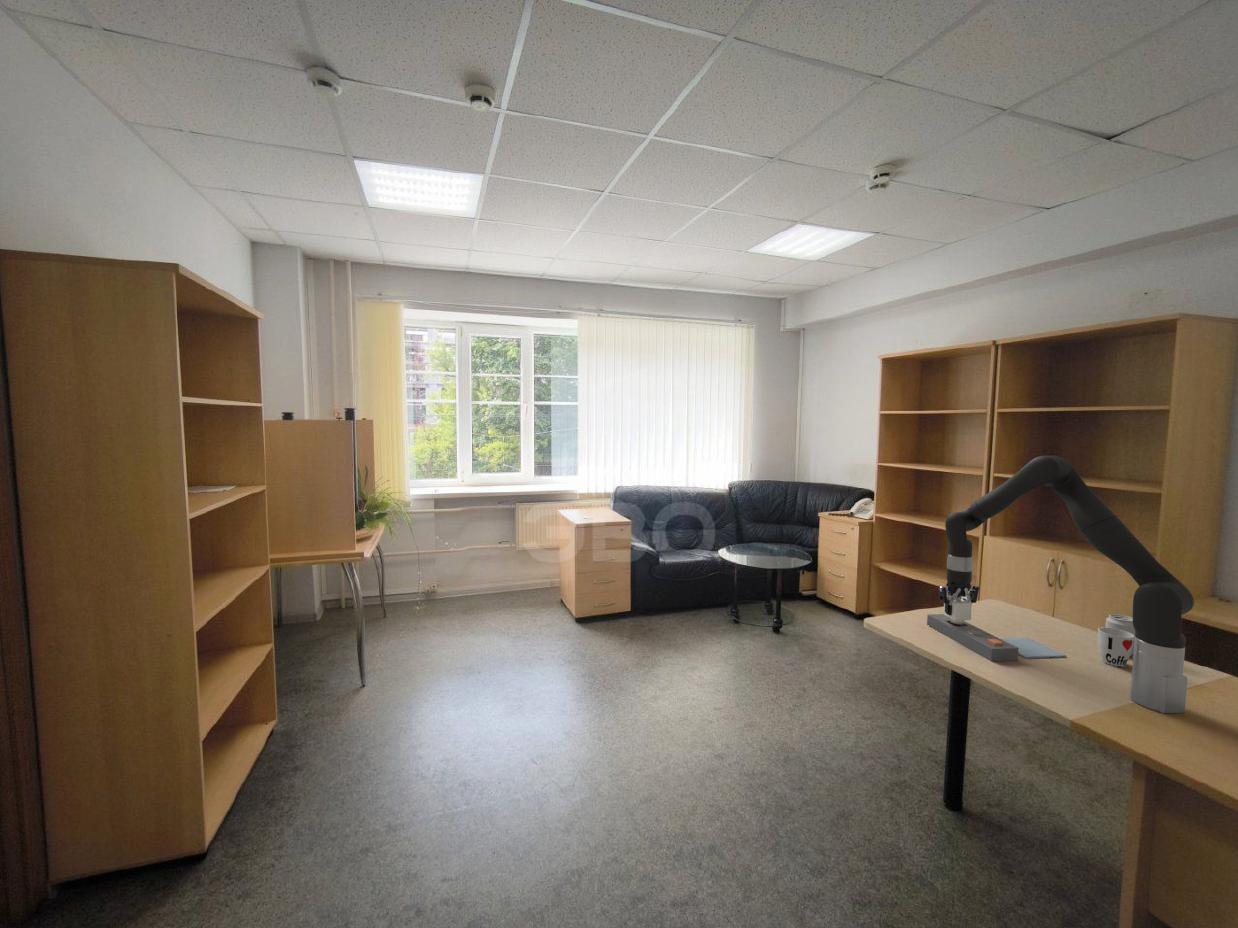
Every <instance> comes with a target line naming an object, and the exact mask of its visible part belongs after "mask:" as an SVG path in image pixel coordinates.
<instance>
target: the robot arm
mask: <svg viewBox="0 0 1238 928" xmlns="http://www.w3.org/2000/svg"><path fill="white" fill-rule="evenodd" d="M1043 486H1044V487H1045V486H1048V487H1050V488H1051V490H1053V491H1054V492H1055V493H1056V494H1057V495H1058V496H1059V497H1060V498H1061V499H1062V501H1063V502H1064V503H1065V505H1066V508H1067V509H1068V511H1069V513H1070V515H1071V519H1072V521H1073V522H1074V525H1075V527H1076V528H1077V530H1078V531H1079V532H1080V533H1081V534H1082V535H1083V537H1084V538H1085V539H1086V540H1087V542H1089V544H1090V545H1091V546H1092V547H1093V548H1094V549H1096V550H1097V551H1098V552H1099V553H1100V554H1102V555H1103V556H1105V557H1106V558H1108V559H1109V560H1110V561H1112V562H1113V563H1115V564H1116V565H1118V566H1119V567H1121V568H1122V569H1123V570H1125V571H1126V572H1127V574H1129V576H1130V577H1131V578H1132V579H1133V580H1134V581H1135V583H1136V584H1137V585H1138V587H1137V588H1136V590H1135V591H1134V594H1133V598H1132V599H1133V600H1132V618H1133V627H1134V629H1135V642H1134V654H1133V655H1132V656H1133V657H1132V671H1131V682H1130V683H1131V685H1130V699H1131V701H1133V702H1134V703H1136V704H1139V706H1142V707H1144V708H1147V709H1150V710H1153V711H1157V712H1160V713H1162V714H1179V713H1181V714H1182V713H1183V714H1184V713H1185V712H1186V702H1187V701H1186V700H1187V691H1188V689H1187V688H1188V677H1187V676H1186V675H1184V666H1185V657H1186V656H1185V655H1186V654H1185V652H1186V644H1187V639H1186V638H1187V637H1186V636H1185V635H1184V634H1183V633H1182V615H1184V614H1188V613H1189V612H1190V611H1191V610H1193V607H1194V605H1195V599H1194V597H1193V594H1192V593H1191V591H1190V590H1189V589H1188V588H1187V586H1185V585H1184V584H1183V583H1182V582H1181V581H1180V580H1179V579H1178V578H1177V577H1175V576H1174V575H1173V574H1172V573H1171V572H1170V571H1169V570H1167V568H1166V567H1164V566H1163V565H1162V564H1161V563H1160V562H1159V561H1158V560H1157V559H1156V558H1155V557H1154V556H1153V555H1152V554H1151V553H1150V552H1149V551H1148V549H1147V548H1146V547H1145V546H1144V545H1143V543H1141V541H1140V540H1139V539H1138V538H1137V537H1136V536H1135V535H1134V534H1133V532H1132V531H1131V530H1130V529H1129V528H1128V527H1127V525H1126V524H1125V523H1123V521H1121V519H1120V518H1119V517H1118V516H1117V514H1115V513H1114V512H1113V511H1112V510H1111V509H1109V507H1108V506H1107V505H1106V504H1105V502H1104V501H1102V500H1101V499H1100V497H1098V496H1097V494H1095V493H1094V492H1093V491H1092V490H1091V489H1090V488H1089V486H1088V485H1087V484H1086V483H1085V481H1084V480H1083V478H1082V477H1081V476H1080V475H1079V473H1078V471H1077V470H1076V469H1075V467H1073V465H1072V464H1071V463H1070V462H1069V461H1068V460H1067V459H1066V458H1063V457H1062V456H1057V455H1040V456H1036V457H1034V458H1033V459H1030V461H1029V462H1027V464H1025V465H1024V466H1023V467H1021V469H1019V470H1018V471H1017V472H1016V473H1015V474H1013V476H1011V477H1010V478H1008V479H1007V480H1006V481H1005V482H1003V483H1001V484H1000V485H999V486H997V487H996V488H994V489H992V490H991V491H990V492H988V493H985V494H984V495H982V496H981V497H979V498H977V499H976V500H974V501H973V502H972V503H970V506H969V507H968V508H966V509H965V510H963V511H959V512H952V513H949V515H947V516H946V519H945V523H944V525H945V526H944V527H945V532H946V536H947V537H946V538H947V540H948V551H947V553H948V554H947V558H946V573H945V574H946V575H945V576H946V577H945V579H946V581H947V582H946V584H945V585H940V584H939V585H938V586H937V589H938V597H939V599H938V600H939V602H941V603H943V604H944V603H945V612H946V614H948V615H952V603H953V601H954V600H956V598H957V597H959V596H961V599H963V600H965V601H967V602H970V603H972V604H973V603H974V604H976V603H977V601H978V596H979V591H980V587H979V586H978V585H974V584H971V583H972V579H973V542H972V540H970V539H968V536H967V532H970V531H973V530H975V529H977V528H979V527H980V526H982V525H983V524H985V522H986V521H988V520H989V519H992V518H993V517H995V516H996V515H999V514H1000V513H1002V512H1003V511H1005V510H1006V509H1008V508H1009V507H1011V505H1012V504H1014V502H1015V501H1017V500H1018V499H1019V498H1021V497H1022V496H1024V495H1025V494H1027V493H1029V492H1032V491H1033V490H1036V489H1038V488H1041V487H1043Z"/></svg>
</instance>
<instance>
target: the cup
mask: <svg viewBox="0 0 1238 928" xmlns="http://www.w3.org/2000/svg"><path fill="white" fill-rule="evenodd" d="M1133 640H1134V635H1133V634H1131V633H1129V632H1126V631H1123V630H1119V629H1114V628H1107V627H1105V626H1104V627H1101V626H1100V627H1098V628H1097V642H1098V649H1099V654H1100V656H1101V657H1100V658H1101V660H1102V662H1103V663H1104V662H1105V663H1104V664H1106V663H1107V664H1106V665H1109V664H1110V665H1109V666H1112V665H1114V666H1113V667H1117V666H1121V667H1120V668H1123V666H1124V667H1126V665H1127V663H1128V661H1129V659H1130V657H1131V656H1130V654H1131V651H1132V646H1133Z"/></svg>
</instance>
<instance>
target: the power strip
mask: <svg viewBox="0 0 1238 928" xmlns="http://www.w3.org/2000/svg"><path fill="white" fill-rule="evenodd" d="M926 615H927V616H926V617H927V619H926V625H927V626H928V625H929V626H928V627H930V626H931V627H930V628H931V629H933V628H934V629H933V630H935V631H937V632H939V633H940V634H942V635H944V636H946V637H947V638H949V639H951V640H953V641H955V642H956V643H958V644H960V645H961V646H962V647H963V646H964V647H965V648H968V649H969V650H971V651H973V653H976V654H978V656H979V655H980V656H981V657H983V658H984V659H986V660H988V661H990V662H1001V661H1002V662H1004V661H1005V662H1006V661H1019V655H1018V648H1017V647H1015V646H1013V645H1011V644H1009V643H1007V642H1005V641H1003V640H1001V639H1000V638H999V637H997V636H995V635H994V634H991V633H989V632H987V631H985V630H983V629H982V628H979V627H978V626H975V625H973V624H971V623H969V622H967V621H966V620H964V624H962V625H959V624H954V623H951V622H950V617H948V616H946V615H944V613H937V614H936V613H935V614H934V613H931V614H928V613H927V614H926Z"/></svg>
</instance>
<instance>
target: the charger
mask: <svg viewBox="0 0 1238 928" xmlns="http://www.w3.org/2000/svg"><path fill="white" fill-rule="evenodd" d="M972 605H973V603H970V602H967V601H965V600H963V599H962V597H961V596H959V597H957V598H956V600H954V601H953V603H952V615H948V614H946V612H945V603H943V614H944V615H946V616H948V617H950V622H951V623H954V624H959V625H962V624H964V621H971V620H972Z"/></svg>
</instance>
